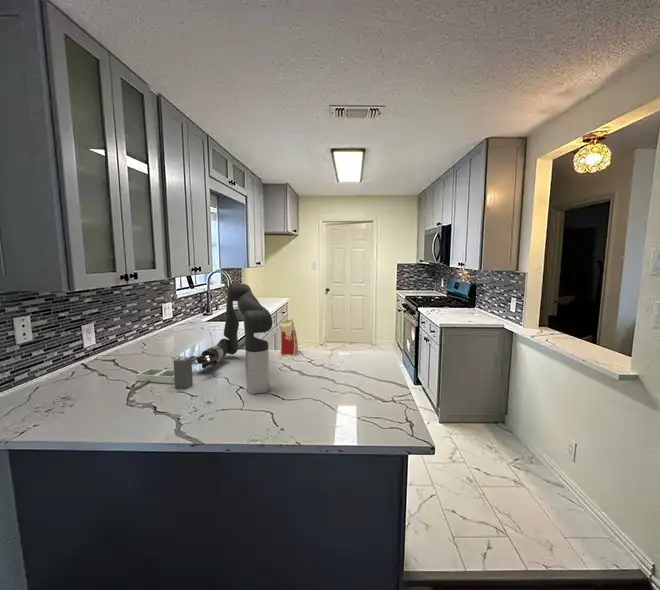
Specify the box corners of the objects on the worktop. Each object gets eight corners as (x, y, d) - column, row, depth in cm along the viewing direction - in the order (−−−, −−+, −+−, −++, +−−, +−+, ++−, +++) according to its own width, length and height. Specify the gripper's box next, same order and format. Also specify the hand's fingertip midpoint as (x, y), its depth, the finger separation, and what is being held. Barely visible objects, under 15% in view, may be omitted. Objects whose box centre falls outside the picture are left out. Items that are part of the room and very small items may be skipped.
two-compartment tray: (160, 392, 137) (159, 385, 137) (120, 389, 140) (120, 382, 140) (184, 377, 154) (184, 370, 153) (149, 375, 157) (148, 368, 156)
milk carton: (298, 351, 196) (297, 317, 193) (294, 356, 187) (294, 320, 184) (282, 351, 197) (282, 317, 194) (278, 355, 188) (278, 320, 185)
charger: (185, 389, 141) (184, 360, 139) (175, 388, 142) (173, 360, 140) (192, 384, 146) (191, 357, 144) (182, 383, 146) (180, 356, 145)
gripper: (198, 347, 167) (178, 356, 151) (225, 348, 165) (208, 358, 149) (199, 361, 168) (179, 372, 152) (226, 363, 166) (208, 374, 150)
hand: (193, 365), depth 150 cm, fingers open, 8 cm apart
